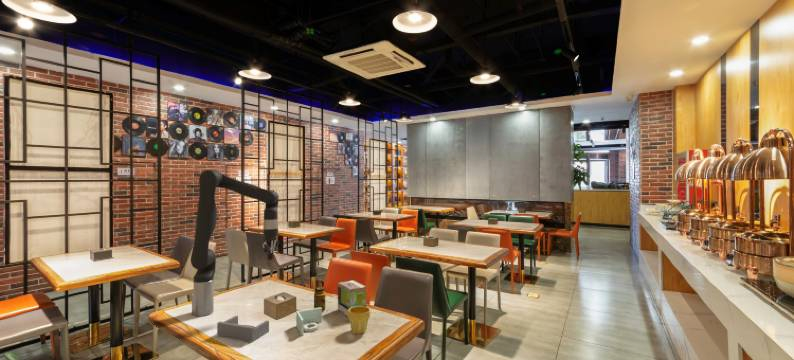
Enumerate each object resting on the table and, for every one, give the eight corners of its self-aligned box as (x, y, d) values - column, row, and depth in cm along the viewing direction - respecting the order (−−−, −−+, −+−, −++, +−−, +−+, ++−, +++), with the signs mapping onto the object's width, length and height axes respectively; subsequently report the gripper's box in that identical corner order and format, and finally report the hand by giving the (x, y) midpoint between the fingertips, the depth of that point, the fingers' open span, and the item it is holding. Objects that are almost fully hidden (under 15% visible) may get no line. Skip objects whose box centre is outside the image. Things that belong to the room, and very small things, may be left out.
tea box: (366, 314, 181) (367, 286, 181) (349, 318, 175) (349, 289, 175) (353, 305, 193) (353, 279, 193) (337, 309, 187) (337, 282, 187)
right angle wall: (301, 337, 155) (301, 320, 155) (296, 326, 166) (296, 311, 166) (327, 331, 161) (327, 315, 161) (321, 322, 171) (321, 307, 171)
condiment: (328, 311, 185) (328, 288, 185) (312, 314, 180) (312, 291, 180) (322, 306, 191) (323, 285, 191) (308, 310, 186) (308, 287, 186)
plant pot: (369, 325, 167) (369, 305, 167) (371, 334, 157) (371, 313, 157) (347, 326, 165) (347, 306, 165) (348, 336, 155) (348, 314, 155)
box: (217, 336, 155) (217, 322, 155) (235, 326, 165) (235, 313, 165) (252, 342, 149) (252, 328, 149) (269, 331, 159) (269, 318, 159)
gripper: (272, 225, 194) (272, 256, 194) (256, 228, 181) (256, 261, 181) (284, 226, 192) (284, 257, 192) (268, 229, 179) (268, 263, 179)
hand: (270, 259), depth 186 cm, fingers closed
